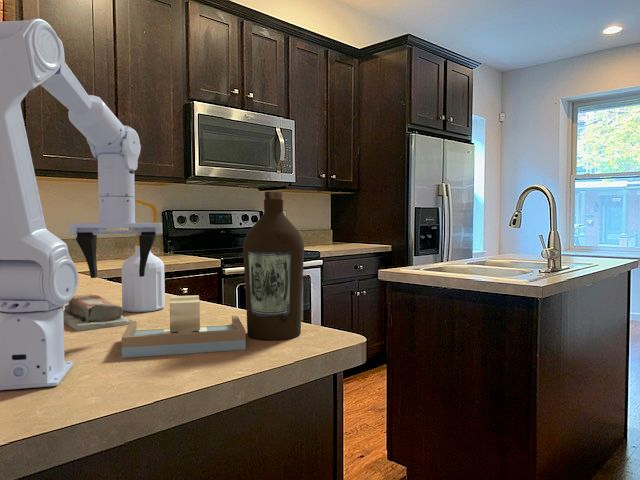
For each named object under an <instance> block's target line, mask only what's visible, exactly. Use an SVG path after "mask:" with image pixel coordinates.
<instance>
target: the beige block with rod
mask: <svg viewBox="0 0 640 480" xmlns="http://www.w3.org/2000/svg"><path fill="white" fill-rule="evenodd" d="M200 301H201V300H200V296H199V294H198V295H175V296H174V295H172V296H170V300H169V327H170V332H171V333H178V332H180V331H192V332H199V330H200V326H201V317H200V316H201V306H200V304H201V303H200Z"/></svg>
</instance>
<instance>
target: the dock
mask: <svg viewBox="0 0 640 480" xmlns="http://www.w3.org/2000/svg"><path fill="white" fill-rule="evenodd" d="M137 324H138V323H137V320H132V321H130V323H129V325H126V329H125V331H124V332H123V334H122V336H121V358H122V359H125V358H142V357H157V356H170V355H183V354H184V355H185V354H187V355H188V354H199V353H201V354H202V353H213V352H229V351H242V350H244V351H245V350H246V349H247V348H246V347H247V346H246V343H247V342H246V338H247V337H246V329H245V327H244V325H243V322H242V321H241V320H240V318H239V316H238V315H232V316H231V323H226V324H207V325H200V330H199V332H192V331H180V332H178V333H171V332H170V326H169V327H156V328H155V327H154V328H153V327H152V328H140V329H139V328H137Z"/></svg>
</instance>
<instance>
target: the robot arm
mask: <svg viewBox="0 0 640 480" xmlns="http://www.w3.org/2000/svg"><path fill="white" fill-rule="evenodd" d="M39 86H41V87H42V88H43V89H45V90H46V91H47V92H49V94H51V96H53V97H54V98H55V99H56V100H57V101H58V102H59V103H60V104H62V105H63V106H64V107H65V108H66V109H68V113H67V114H68V116H67V117H68V120H69V122H70V123H71V124H72V125H73V127H75V128H76V130H78V131H79V132H80V134H82V135H83V136H84V138H86V143H87V144H88V146H89V148H90V149H89V150H90V152H91V154H92V156H93V158H95V159H97V179H98V180H97V183H98V188H97V189H98V190H97V191H98V222H84V223H83V222H74V223H73V222H69V235H71V236H75V235H76V237H75V241H76V243H77V244H78V246H79V248H80V250H81V252H82V254H83V256H84V258H85V261H86V264H87V267H88V270H89V275H90V279H96V278H97V277H98V265H97V264H98V263H97V243H98V242H97V241H98V235H136V234H141V235H139V236H138V243H139V244H140V266H139V277H144V276H145V267H146V262H147V259H148V255H149V252H150V250H151V251H152V247H153V245H154V242H155V240H156V237H157V235H162V234H163V222H157V223H153V222H136V202H135V200H136V199H135V197H136V194H135V188H136V187H135V185H136V184H135V171H136V170H138V167H139V166H138V165H139V164H138V160H139V158H140V155H141V148H142V145H141V142H140V137H139V134H138V133H137V131H136V130H135V129H134V128H132V127H131V126H129V125H124V124H123V123H122V122H121V121H120V119H119V118H117V116H116V115H115V114H114V113H113V111H112V110H111V108H109V107H108V106H107V104H106V103H105V102H104V101H103V100H102V98H101V97H100V96H96V95H93V94H88V93H87V92H86V90H85V88H84V87H83V85H82V84H81V82H80V81H79V80H78V78H77V77H76V76H75V74H74V73H73V71H72V70H71V68H70V67H69V66H68V65H67V63H66V59H65V48H64V45H63V41H62V40H61V39H60V37H58V34H57V32H56V31H55V30H54V28H53V27H52V25H50V24H49V22H47V21H46V20H45V19H43V18H31V19H29V20H28V19H27V20H26V19H25V20H9V21H0V391H5V390H7V391H8V390H19V389H21V390H22V389H30V388H31V389H32V388H44V387H45V388H46V387H55V386H58V385H59V383H60V382H61V381H62V380H63V378H64V377H65V376H66V374H67V373H68V372H69V371H70V369H71V368H72V367H73V365H74V361H71V360H69V361H68V360H67V361H66V360H65V323H64V314H63V311H64V307H65V306H66V305H69V301H70V300H71V299H72V297H73V296H75V295H76V294H75V293H76V291H77V289H78V285H79V272H78V269H77V266H76V264H75V262H74V261H73V260H72V257H71V256H70V255H71V254H70V252H69V247H68V244H67V243H66V242H64V241H63V240H62V239H61V238H59V236H56V235H55V234H54V233H52V232H51V231H49V230H48V228H47V225H46V221H45V217H44V211H43V206H42V202H41V197H40V192H39V187H38V183H37V177H36V173H35V167H34V164H33V157H32V154H31V149H30V145H29V141H28V135H27V130H26V126H25V120H24V117H23V111H22V106H21V102H22V101H23V100H24V99H25V97H26V96H27V95H28V93H29V92H30V91H32V90H33V89H35V88H36V87H39ZM107 229H128V230H121V231H120V230H115V231H114V230H113V231H112V230H111V231H110V230H107ZM131 230H136V231H131Z"/></svg>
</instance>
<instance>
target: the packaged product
mask: <svg viewBox="0 0 640 480" xmlns="http://www.w3.org/2000/svg"><path fill="white" fill-rule="evenodd" d="M123 311H124V310H123V309H122V305H121V306H120V305H118V303H114V302H112V301H111V300H109V299H106V298H104V297H102V296H99V295H97V294H91V293H90V294H80V295H78V294H77V295H74V296H73V297H72V299H71V300H70V301H69V305H66V306H64V309H63V314H64V324H66V325H67V326H69V327H70V328H72V329H73V330H75V331H76V332H83V331H90V330H98V329H107V328H113V327H119V326H120V327H121V326H128V325H129V323H130V321H133V319H130V318H129V317H126V316H124V315H123Z"/></svg>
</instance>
